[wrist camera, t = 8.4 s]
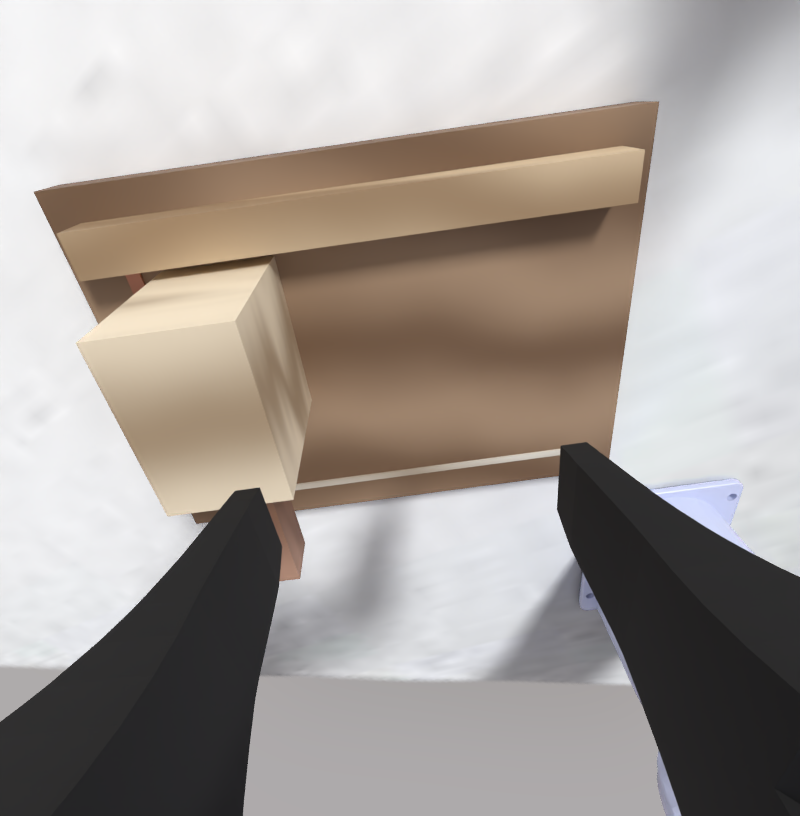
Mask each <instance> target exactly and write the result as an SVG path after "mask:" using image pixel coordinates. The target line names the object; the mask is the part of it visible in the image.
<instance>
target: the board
mask: <svg viewBox="0 0 800 816" xmlns="http://www.w3.org/2000/svg"><path fill="white" fill-rule="evenodd" d="M658 106H659V102H630V103H624V104H617V105H610V106H603V107H596V108H589V109H582V110H575V111H568V112H561V113H554V114H547V115H540V116H534V117H527V118H520V119H513V120H506V121H499V122H492V123H485V124H478V125H471V126H464V127H457V128H450V129H444V130H437V131H430V132H423V133H416V134H409V135H402V136H395V137H388V138H381V139H374V140H367V141H361V142H354V143H347V144H340V145H333V146H326V147H319V148H312V149H305V150H298V151H291V152H284V153H277V154H271V155H264V156H257V157H250V158H243V159H236V160H229V161H222V162H215V163H208V164H201V165H194V166H187V167H181V168H174V169H167V170H160V171H153V172H146V173H139V174H132V175H125V176H118V177H111V178H104V179H98V180H91V181H84V182H77V183H70V184H63V185H57V186H54V187H50V188H46V189H43V190H39V191H35V192H34V194H35V196H36V198H37V200H38V202H39V204H40V206H41V208H42V210H43V212H44V214H45V216H46V218H47V220H48V222H49V224H50V226H51V228H52V230H53V232H54V234H55V236H56V238H57V240H58V242H59V245H60V247H61V249H62V251H63V253H64V255H65V257H66V259H67V261H68V263H69V265H70V267H71V269H72V271H73V273H74V275H75V277H76V279H77V281H78V283H79V285H80V287H81V289H82V291H83V293H84V295H85V298H86V300H87V302H88V304H89V306H90V308H91V310H92V312H93V314H94V316H95V318H96V320H97V322H98V324H99V323H100V322H102V321H103V320H104V319H105V318H106V317H108V316H109V315H110V314H111V313H112V312H114V311H115V310H116V309H117V308H118V307H120V306H121V305H122V304H123V303H124V302H126V301H127V300H128V299H129V298H130V297H132V296H133V295H134V294H135V293H136V292H138V291H139V290H140V289H141V288H142V287H144V286H145V285H146V284H147V283H148V282H150V281H151V280H152V279H153V278H154V277H156V276H157V275H158V274H159V273H161V272H162V271H168V270H175V269H182V268H189V267H196V266H203V265H210V264H217V263H224V262H231V261H238V260H246V259H253V258H260V257H267V256H274V257H275V261H276V264H277V268H278V272H279V276H280V280H281V284H282V288H283V291H284V295H285V299H286V303H287V307H288V311H289V314H290V318H291V322H292V326H293V330H294V334H295V338H296V341H297V345H298V349H299V353H300V357H301V361H302V364H303V368H304V372H305V376H306V380H307V384H308V388H309V391H310V395H311V399H312V401H311V407H310V412H309V418H308V423H307V429H306V434H305V440H304V445H303V451H302V456H301V462H300V467H299V472H298V478H297V483H296V489H295V494H294V500H291V502H292V505H293V508H294V511H297V510H304V509H312V508H319V507H327V506H334V505H342V504H350V503H357V502H365V501H372V500H380V499H387V498H395V497H402V496H410V495H417V494H425V493H433V492H440V491H448V490H455V489H463V488H470V487H478V486H485V485H493V484H500V483H508V482H516V481H523V480H531V479H538V478H546V477H553V476H559V465H560V446H561V445H569V444H576V443H583V442H587V443H589V444H590V445H591V446H593V447H594V448H595V449H597V450H598V451H599V452H600V453H602V454H603V455H604V456H606V457H607V458H608V459H609V455H610V448H611V441H612V434H613V426H614V419H615V412H616V405H617V398H618V391H619V384H620V377H621V369H622V362H623V355H624V348H625V341H626V334H627V327H628V320H629V312H630V305H631V298H632V291H633V284H634V277H635V270H636V263H637V256H638V248H639V241H640V234H641V227H642V220H643V213H644V206H645V199H646V191H647V184H648V177H649V170H650V163H651V156H652V149H653V142H654V134H655V127H656V120H657V113H658ZM218 511H219V510H213V511H205V512H198V513H191V514H192V516H193V518H194V520H195V522H196V524H199V523H206V522H210V521H211V519H212V518H213V517H214V516H215V514H216V513H217V512H218Z"/></svg>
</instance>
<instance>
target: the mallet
mask: <svg viewBox="0 0 800 816" xmlns="http://www.w3.org/2000/svg"><path fill="white" fill-rule="evenodd" d="M76 344H77V346H78V348H79V350H80V352H81V354H82V356H83V358H84V360H85V361H86V363H87V365H88V367H89V369H90V371H91V373H92V375H93V377H94V378H95V380H96V382H97V384H98V386H99V388H100V390H101V392H102V394H103V395H104V397H105V399H106V401H107V403H108V405H109V407H110V409H111V411H112V412H113V414H114V416H115V418H116V420H117V422H118V424H119V426H120V428H121V429H122V431H123V433H124V435H125V437H126V439H127V441H128V443H129V445H130V446H131V448H132V450H133V452H134V454H135V456H136V458H137V460H138V462H139V463H140V465H141V467H142V469H143V471H144V473H145V475H146V477H147V479H148V480H149V482H150V484H151V486H152V488H153V490H154V492H155V494H156V495H157V497H158V499H159V501H160V503H161V505H162V507H163V509H164V511H165V512H166V514H167V516H175V515H183V514H190V513H198V512H205V511H213V510H219V509H220V508H221V507H222V506H223V505H224V503H225V502H226V501H227V500H228V498H229V497H230V496H231V495H232V494H233V492H234V491H237V490H244V489H252V488H259V487H260V489H261V492H262V495H263V497H264V500H265V502H266V505H267V508H268V510H269V513H270V516H271V518H272V521H273V523H274V526H275V529H276V531H277V534H278V536H279V539H280V542H281V544H282V557H281V570H280V580H279V581H285V580H293V579H300V575H301V568H302V561H303V553H304V546H305V541H304V538H303V535H302V532H301V529H300V526H299V523H298V520H297V517H296V514H295V511H294V508H293V505H292V502H291V500H294V494H295V489H296V483H297V478H298V472H299V467H300V462H301V456H302V451H303V445H304V440H305V434H306V429H307V423H308V418H309V412H310V407H311V401H312V399H311V395H310V391H309V388H308V384H307V380H306V376H305V372H304V368H303V364H302V361H301V357H300V353H299V349H298V345H297V341H296V338H295V334H294V330H293V326H292V322H291V318H290V314H289V311H288V307H287V303H286V299H285V295H284V291H283V288H282V284H281V280H280V276H279V272H278V268H277V264H276V261H275V257H274V256H267V257H260V258H253V259H246V260H238V261H231V262H224V263H217V264H210V265H203V266H196V267H189V268H182V269H175V270H168V271H162V272H161V273H159V274H158V275H157V276H156V277H154V278H153V279H152V280H151V281H150V282H148V283H147V284H146V285H145V286H144V287H142V288H141V289H140V290H139V291H138V292H136V293H135V294H134V295H133V296H132V297H130V298H129V299H128V300H127V301H126V302H124V303H123V304H122V305H121V306H120V307H118V308H117V309H116V310H115V311H114V312H112V313H111V314H110V315H109V316H108V317H106V318H105V319H104V320H103V321H102V322H100V323H99V324H98V325H97V326H96V327H94V328H93V329H92V330H91V331H90V332H88V333H87V334H86V335H85V336H84V337H82V338H81V339H80V340H79V341H78V342H76Z"/></svg>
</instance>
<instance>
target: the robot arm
mask: <svg viewBox="0 0 800 816" xmlns="http://www.w3.org/2000/svg"><path fill="white" fill-rule="evenodd" d="M742 490H743V485H742V483H741V482H740V481H739V480H737V479H728V480H720V481H713V482H705V483H697V484H690V485H682V486H675V487H667V488H659V489H652V490H650V489H648V488H647V487H645V486H644V485H643V484H641V483H640V482H639V481H637V480H636V479H634V478H633V477H632V476H630V475H629V474H628V473H626V472H625V471H624V470H623V469H621V468H620V467H619V466H617V465H616V464H615V463H613V462H612V461H611V460H609V459H608V458H607V457H606V456H604V455H603V454H602V453H600V452H599V451H598V450H597V449H595V448H594V447H593V446H591V445H590V444H589V443H587V442H583V443H576V444H569V445H561V446H560V465H559V484H558V503H557V510H558V513H559V516H560V519H561V522H562V525H563V528H564V531H565V534H566V536H567V539H568V542H569V545H570V547H571V549H572V551H573V554H574V556H575V558H576V560H577V562H578V564H579V566H580V568H581V570H582V580H581V588H580V596H579V605H580V607H581V609H583V610H594V609H598V612H599V614H600V616H601V618H602V620H603V623H604V625H605V627H606V629H607V631H608V634H609V636H610V638H611V640H612V642H613V645H614V647H615V649H616V651H617V653H618V656H619V658H620V660H621V662H622V664H623V667H624V669H625V671H626V673H627V675H628V678H629V680H630V682H631V684H632V686H633V689H634V691H635V693H636V695H637V697H638V699H639V700H640V702H641V704H642V706H643V708H644V711H645V714H646V716H647V719H648V722H649V724H650V727H651V730H652V733H653V735H654V738H655V740H656V743H657V746H658V749H659V751H658V757H657V767H658V772H657V781H658V788H659V793H660V797H661V801H662V804H663V807H664V810H665V813H666V816H800V577H798V576H796V575H794V574H792V573H790V572H788V571H786V570H784V569H781V568H779V567H777V566H775V565H773V564H771V563H770V562H768V561H766V560H764V559H762V558H760V557H758V556H756V555H755V554H754V553H753V552H752V551H751V550H750V548H749V547H748V546H747V545H746V544H745V543H744V541H743V540H742V539H741V538H740V537H739V536H738V534H737V533H736V532H735V531H734V530H733V529H732V527H731V526H730V525H731V522H732V519H733V516H734V513H735V510H736V507H737V505H738V502H739V499H740V496H741V493H742ZM281 557H282V544H281V542H280V539H279V536H278V534H277V531H276V529H275V526H274V523H273V521H272V518H271V516H270V513H269V510H268V508H267V505H266V502H265V500H264V497H263V495H262V492H261V489H260V487H259V488H252V489H244V490H237V491H234V492H233V494H232V495H231V496H230V497H229V498H228V500H227V501H226V502H225V503H224V505H223V506H222V507H221V508H220V509H219V511H218V512H217V513H216V514H215V516H214V517H213V518H212V519H211V521H210V522H209V523H208V524H207V526H206V527H205V528H204V529H203V531H202V532H201V533H200V534H199V535H198V537H197V538H196V539H195V540H194V542H193V543H192V544H191V545H190V546H189V548H188V549H187V550H186V551H185V552H184V554H183V555H182V556H181V557H180V558H179V559H178V561H177V562H176V563H175V564H174V565H173V566H172V567H171V568H170V569H169V571H168V572H167V573H166V574H165V575H164V576H163V577H162V578H161V579H160V581H159V582H158V583H157V584H156V585H155V586H154V587H153V588H152V589H151V590H150V592H149V593H148V594H147V595H146V596H145V597H144V598H143V599H142V600H141V601H140V602H139V603H138V604H137V605H136V606H135V607H134V608H133V609H132V610H131V611H130V612H129V613H128V614H127V615H126V616H125V617H124V618H123V619H122V620H121V621H120V622H119V623H118V624H117V625H116V626H115V627H114V628H113V629H112V630H111V631H110V632H108V633H107V634H106V635H105V636H104V637H103V638H102V639H101V640H100V641H99V642H98V643H97V644H95V645H94V646H93V647H92V648H91V649H90V650H88V651H87V652H86V653H85V654H84V655H83V656H81V657H80V658H79V659H78V660H77V661H76V662H74V663H73V664H72V665H71V666H70V667H69V668H67V669H66V670H65V671H64V672H63V673H62V674H60V675H59V676H58V677H57V678H56V679H55V680H54V681H52V682H51V683H50V684H49V685H47V686H46V687H45V688H44V689H42V690H41V691H40V692H39V693H37V694H36V695H35V696H34V697H32V698H31V699H30V700H28V701H27V702H26V703H25V704H23V705H22V706H21V707H19V708H18V709H17V710H15V711H14V712H13V713H12V714H10V715H9V716H8V717H6V718H5V719H4V720H2V721H1V722H0V816H243V805H244V794H245V784H246V773H247V764H248V755H249V744H250V736H251V728H252V720H253V712H254V704H255V697H256V692H257V686H258V680H259V676H260V671H261V667H262V662H263V658H264V653H265V649H266V644H267V639H268V635H269V630H270V626H271V621H272V617H273V612H274V607H275V603H276V598H277V593H278V588H279V580H280V570H281Z"/></svg>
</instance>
